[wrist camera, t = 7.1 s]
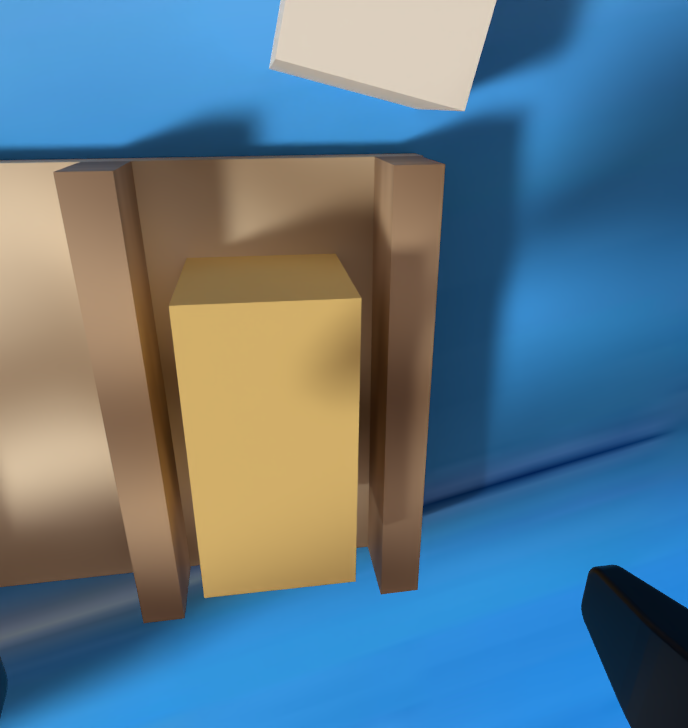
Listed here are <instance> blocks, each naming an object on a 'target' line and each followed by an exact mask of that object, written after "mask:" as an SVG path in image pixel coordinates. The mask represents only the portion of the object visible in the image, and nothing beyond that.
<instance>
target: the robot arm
mask: <svg viewBox="0 0 688 728" xmlns="http://www.w3.org/2000/svg"><path fill="white" fill-rule="evenodd" d="M581 610H582V615H583V619H584V622H585V624H586V626H587V629H588V631H589V633H590V636H591V638H592V640H593V643H594V645H595V647H596V650H597V652H598V654H599V657H600V659H601V662H602V664H603V666H604V669H605V671H606V673H607V676H608V678H609V680H610V683H611V685H612V687H613V690H614V692H615V694H616V697H617V699H618V701H619V704H620V706H621V708H622V710H623V712H624V715H625V717H626V719H627V720H628V722H629V724H630V726H631V728H688V609H687V608H686V607H684V606H683V605H681V604H679V603H678V602H676V601H675V600H673V599H671V598H670V597H668V596H667V595H665V594H663V593H662V592H660V591H659V590H657V589H655V588H654V587H652V586H650V585H649V584H647V583H646V582H644V581H642V580H641V579H639V578H638V577H636V576H634V575H633V574H631V573H630V572H628V571H626V570H625V569H623V568H621V567H620V566H617V565H606V566H597V567H593V568H592V569H591V570H590V571H589V573H588V577H587V582H586V586H585V590H584V595H583V599H582V605H581ZM6 692H7V675H6V671H5V669H4V666H3V663H2V660H1V657H0V717H1V713H2V709H3V705H4V701H5V697H6Z"/></svg>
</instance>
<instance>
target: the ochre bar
mask: <svg viewBox="0 0 688 728" xmlns="http://www.w3.org/2000/svg"><path fill="white" fill-rule="evenodd" d="M361 302H362V298H361V296H360V295H359V293H358V291H357V289H356V288H355V286H354V284H353V283H352V281H351V279H350V277H349V276H348V274H347V272H346V270H345V269H344V267H343V265H342V264H341V262H340V260H339V258H338V257H337V255H336V254H304V255H269V256H234V257H200V258H186V261H185V264H184V266H183V269H182V272H181V274H180V277H179V280H178V282H177V285H176V288H175V290H174V293H173V296H172V298H171V301H170V304H169V312H170V321H171V329H172V337H173V345H174V353H175V362H176V370H177V378H178V386H179V394H180V403H181V411H182V419H183V427H184V435H185V444H186V452H187V460H188V468H189V476H190V485H191V493H192V501H193V509H194V517H195V526H196V534H197V542H198V550H199V558H200V567H201V575H202V583H203V591H204V598H208V597H217V596H226V595H236V594H245V593H254V592H263V591H272V590H281V589H290V588H300V587H309V586H318V585H327V584H336V583H345V582H354V581H356V535H357V488H358V442H359V395H360V349H361Z"/></svg>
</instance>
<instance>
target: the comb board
mask: <svg viewBox="0 0 688 728" xmlns="http://www.w3.org/2000/svg"><path fill="white" fill-rule="evenodd" d="M444 174H445V164H443V163H440V162H437V161H434V160H430V159H427V158H424V157H423V156H422V155H419V154H416V153H404V154H345V155H286V156H227V157H168V158H109V159H50V160H0V587H6V586H15V585H24V584H33V583H42V582H51V581H60V580H69V579H78V578H87V577H96V576H105V575H114V574H123V573H132V572H134V577H135V582H136V587H137V592H138V597H139V602H140V607H141V612H142V617H143V622H144V623H149V622H157V621H166V620H174V619H182V618H185V610H186V602H187V593H188V585H189V577H190V568H191V566H196V565H200V558H199V550H198V542H197V534H196V526H195V517H194V509H193V501H192V493H191V485H190V476H189V468H188V460H187V452H186V444H185V435H184V427H183V419H182V411H181V403H180V394H179V386H178V378H177V370H176V362H175V353H174V345H173V337H172V329H171V321H170V312H169V304H170V301H171V298H172V296H173V293H174V290H175V288H176V285H177V282H178V280H179V277H180V274H181V272H182V269H183V266H184V264H185V261H186V258H200V257H234V256H269V255H304V254H336V255H337V257H338V258H339V260H340V262H341V264H342V265H343V267H344V269H345V270H346V272H347V274H348V276H349V277H350V279H351V281H352V283H353V284H354V286H355V288H356V289H357V291H358V293H359V295H360V296H361V298H362V302H361V349H360V395H359V442H358V488H357V535H356V548H359V547H368V549H369V552H370V556H371V560H372V563H373V567H374V571H375V574H376V578H377V582H378V585H379V589H380V593H381V594H387V593H395V592H403V591H411V590H417V589H418V574H419V558H420V543H421V528H422V512H423V497H424V482H425V466H426V451H427V435H428V420H429V405H430V389H431V374H432V359H433V343H434V328H435V313H436V297H437V282H438V266H439V251H440V236H441V220H442V205H443V190H444Z"/></svg>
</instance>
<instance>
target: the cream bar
mask: <svg viewBox="0 0 688 728" xmlns="http://www.w3.org/2000/svg"><path fill="white" fill-rule="evenodd" d="M496 1H497V0H281V1H280V7H279V13H278V19H277V25H276V31H275V37H274V43H273V49H272V55H271V61H270V67H269V69H272V70H275V71H279V72H283V73H286V74H290V75H294V76H297V77H301V78H305V79H308V80H312V81H316V82H319V83H323V84H327V85H331V86H334V87H338V88H342V89H345V90H349V91H353V92H356V93H360V94H364V95H367V96H371V97H375V98H378V99H382V100H386V101H389V102H393V103H397V104H400V105H404V106H408V107H411V108H415V109H430V110H452V111H465V107H466V104H467V101H468V97H469V94H470V90H471V87H472V83H473V80H474V76H475V73H476V70H477V66H478V63H479V59H480V56H481V52H482V49H483V45H484V42H485V38H486V35H487V32H488V28H489V25H490V21H491V18H492V14H493V11H494V7H495V4H496Z"/></svg>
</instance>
